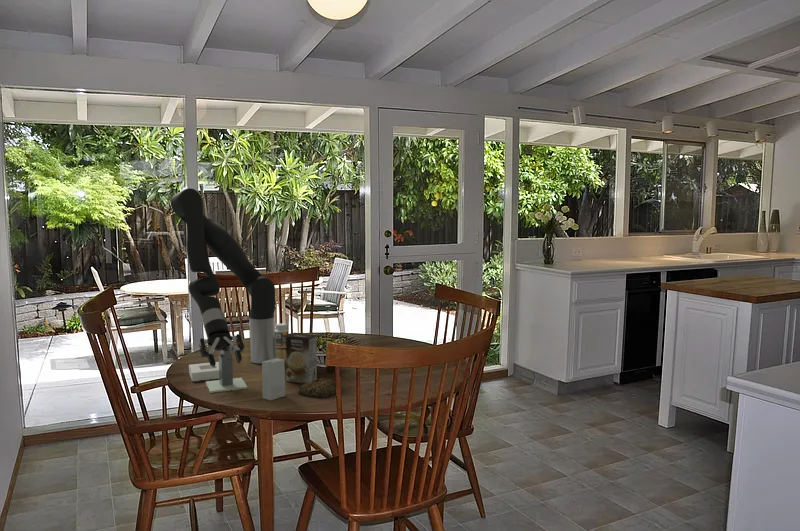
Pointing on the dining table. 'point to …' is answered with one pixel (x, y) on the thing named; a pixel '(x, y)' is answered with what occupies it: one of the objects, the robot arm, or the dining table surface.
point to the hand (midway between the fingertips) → (226, 363)
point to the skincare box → (273, 378)
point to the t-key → (225, 367)
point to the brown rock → (319, 388)
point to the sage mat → (216, 387)
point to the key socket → (204, 371)
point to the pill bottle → (281, 335)
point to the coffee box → (301, 358)
